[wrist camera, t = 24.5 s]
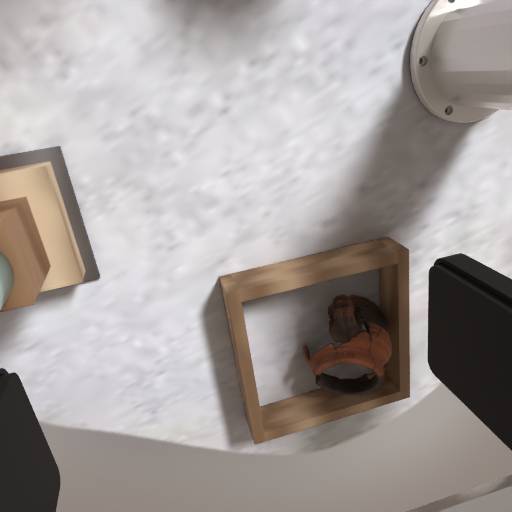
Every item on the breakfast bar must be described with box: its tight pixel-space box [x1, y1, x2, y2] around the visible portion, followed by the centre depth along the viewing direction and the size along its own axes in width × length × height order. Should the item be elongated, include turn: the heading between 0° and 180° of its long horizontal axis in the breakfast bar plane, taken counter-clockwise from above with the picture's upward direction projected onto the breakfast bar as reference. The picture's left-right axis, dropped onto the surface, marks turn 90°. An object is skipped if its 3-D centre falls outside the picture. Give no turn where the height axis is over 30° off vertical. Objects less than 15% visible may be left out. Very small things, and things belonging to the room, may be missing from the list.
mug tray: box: [219, 237, 410, 444], centre depth 48 cm, size 18×18×4 cm
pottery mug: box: [303, 295, 392, 395], centre depth 48 cm, size 12×10×8 cm
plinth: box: [0, 146, 100, 292], centre depth 37 cm, size 12×12×3 cm
